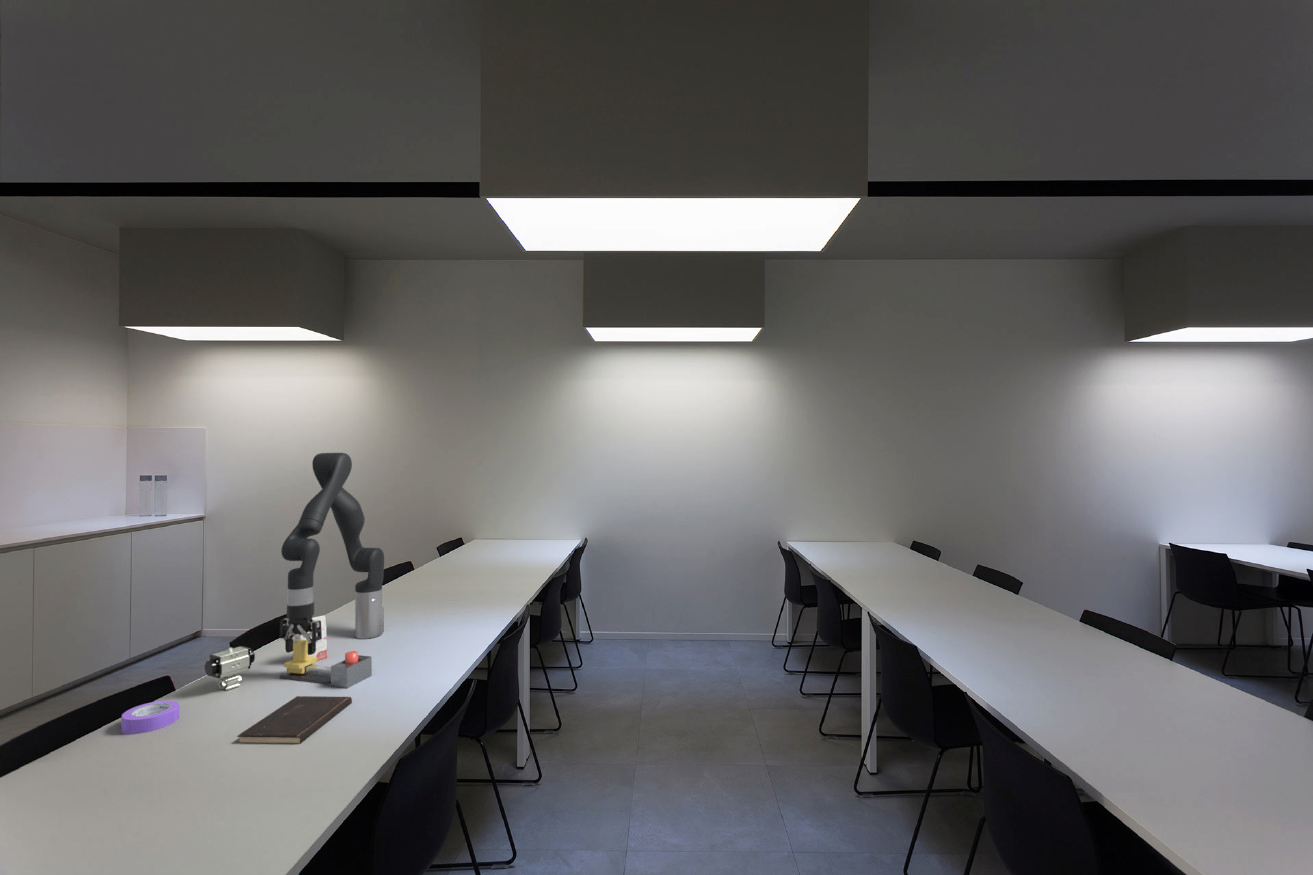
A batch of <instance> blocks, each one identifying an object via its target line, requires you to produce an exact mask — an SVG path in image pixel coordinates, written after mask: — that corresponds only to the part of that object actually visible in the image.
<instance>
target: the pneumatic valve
mask: <svg viewBox="0 0 1313 875" xmlns="http://www.w3.org/2000/svg"><path fill="white" fill-rule="evenodd" d="M255 658H256V656H255V651H254V650H253V648H250V647H247V646H242V645H241V646H237V647H234V648H233V647H228V648H227V649H226V650H223V651H220V652H216V653H212V654H209V658H208V660H206V661H205V663H204V671H205V674H206V675H207V676H209V677H212V678H215V679H220V681H219V683H218V687H219V689H221V690H225V691H230V690H234V689H237V688H239V687H240V686H241V683H242V682H243V680H242V679H243V678H242V676H241V675H240V674H239V673H241V672H244V671H248V670H250V669H251V666H252V663H254V662H255V660H256V659H255Z"/></svg>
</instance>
